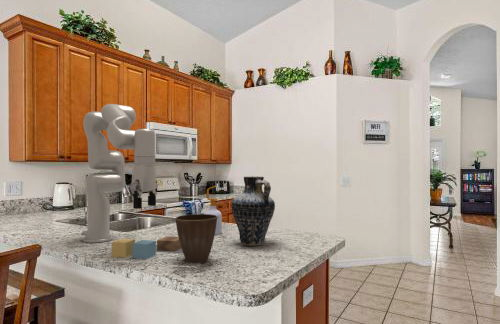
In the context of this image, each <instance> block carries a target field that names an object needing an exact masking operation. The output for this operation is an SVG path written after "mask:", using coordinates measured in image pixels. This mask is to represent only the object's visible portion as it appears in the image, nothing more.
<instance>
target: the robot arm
mask: <svg viewBox="0 0 500 324" xmlns="http://www.w3.org/2000/svg"><path fill="white" fill-rule="evenodd" d="M136 118H137V113H136V111H135V110H134V108H133V107H132V106H129V105H125V104H124V105H123V104H122V105H121V104H116V103H107V104H105V105H103V106H102V108H101V109H100V111H89V112H87V113H86V114H85V115H84V117H83V130H84V133H85V137H86V139H87V156H88V157H87V160H88V161H87V162H88V166H89V168H90V169H92V170H95V171H97V170H98V171H111V172H93V173H92V172H91V173H90V174H88V175H87V176H86V177H85V181H84V182H85V183H84V184H85V188H86V189H85V190H86V197H87V199H86V200H87V201H86V202H87V203H86V205H87V209H86V210H87V217H86V219H87V221H86V222H87V225H86V227H87V228H86V229H87V230H86V229H85V230H82V232H80V235H81V236H84V238H83V242H84V243H88V244H89V243H90V244H93V243H94V244H95V243H105V242H109V241H112V240H113V239H114V236H113V235H111V234H110V230H111V229H110V226H111V225H110V224H111V223H110V222H111V221H110V220H111V219H110V217H111V216H110V214H111V213H110V212H111V210H110V208H111V206H110V203H111V202H110V199H109V198H108V197H107V195H106V193H118V192H120V193H121V192H122V191H124V189H125V186H126V173H125V172H126V169H125V168H126V166H125V157H124V154H123V153H122V152H121V151H119V150H132V151H134V153H133V154H134V155H133V157H134V161H133V162H134V165H133V167H132V174H131V175H132V176H131V185H129V189H130V191H131V192H130V193H131V195H132V201H133V202H132V207H133V209H134V210H135V209H136V210H141V209H143V197H142V194H143V193H148V195H147V206H148V207H155V206H156V205H157V194H158V193H157V192H158V187H159V183H157V174H156V167H155V166H156V132H155V130H153V129H150V128H139V129H138V128H137V129H136V130H133V129H132V125H133V124H134V123H135V121H136ZM102 131H106V136H107V138H106V136H105V134H103V132H102ZM108 141H109V142H110V144H111V145H112V146H113V147H114V148H116V149H119V150H112V149H111V150H109V148H108Z"/></svg>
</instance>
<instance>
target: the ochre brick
mask: <svg viewBox="0 0 500 324" xmlns="http://www.w3.org/2000/svg"><path fill="white" fill-rule="evenodd" d="M135 242H136V239H131V238H120V239H119V238H118V239H117V240H115V241H114V240H113V241H111V254H110V255H111V257H113V258H114V257H115V258H127V257H130V256H133V243H135Z"/></svg>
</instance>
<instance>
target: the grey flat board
mask: <svg viewBox="0 0 500 324" xmlns="http://www.w3.org/2000/svg"><path fill="white" fill-rule="evenodd" d="M156 253H171V254H183V251H182V248H181V249H179V250H177V251H161V250H157V244H156Z"/></svg>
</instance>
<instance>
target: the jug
mask: <svg viewBox="0 0 500 324" xmlns="http://www.w3.org/2000/svg"><path fill="white" fill-rule="evenodd" d="M243 182H244V189H243V191H242V192H241V193H240V194H238V195H237V196H235V197H234V198H233V199H232V200H231V202H230V209H231V213H232V216H233V219H234V221H235V225H236V226H237V230H238V232H239V233H238V234H239V241H240V243H241V244H242V245H245V246H262V245H264V244H265V240H266V235H267V232H268V230H269V227H270V224H271V221H272V219H273V216H274V213H275V210H276V208H275V207H276V203H275V201H274V199H273V198H272V197H270V194H271V192H272V191H271V190H272V186H271V183H270V181H267V180H266V179H265V176H253V175H251V176H243ZM263 185H264V187H263Z"/></svg>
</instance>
